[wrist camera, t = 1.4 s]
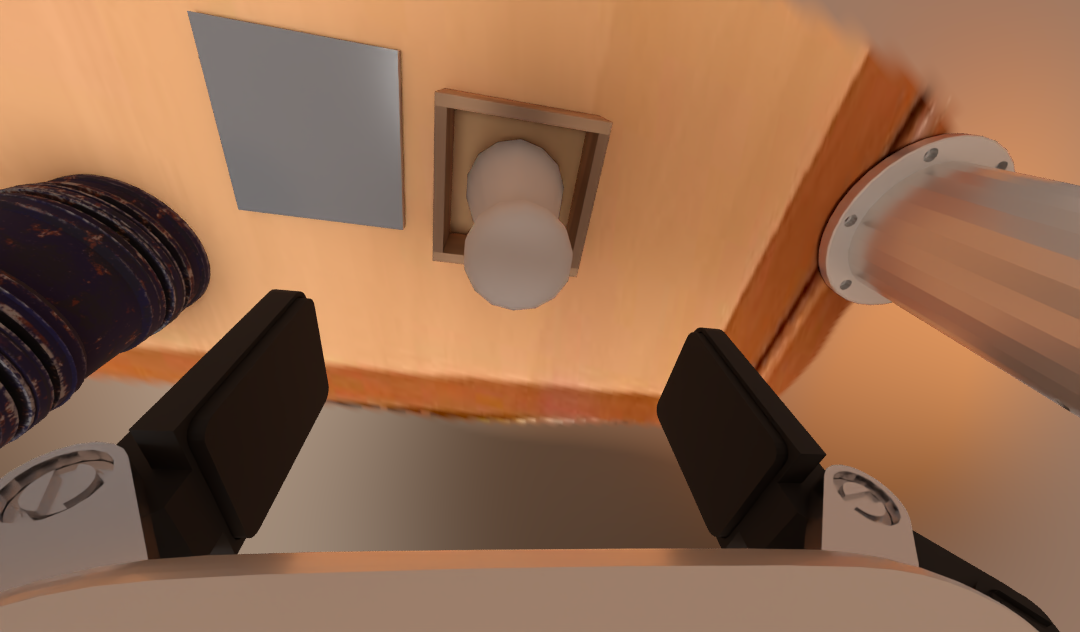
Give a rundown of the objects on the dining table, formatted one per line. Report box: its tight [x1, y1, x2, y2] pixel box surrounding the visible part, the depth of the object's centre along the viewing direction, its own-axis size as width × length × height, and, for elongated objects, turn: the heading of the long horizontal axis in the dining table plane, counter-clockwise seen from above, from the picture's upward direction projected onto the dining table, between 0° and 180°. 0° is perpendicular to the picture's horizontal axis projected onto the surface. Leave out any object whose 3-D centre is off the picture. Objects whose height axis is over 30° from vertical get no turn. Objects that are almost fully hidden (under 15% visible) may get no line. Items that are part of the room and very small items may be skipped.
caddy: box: [433, 88, 613, 277], centre depth 24 cm, size 9×9×4 cm
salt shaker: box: [464, 139, 573, 310], centre depth 20 cm, size 6×6×13 cm
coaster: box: [187, 11, 405, 230], centre depth 23 cm, size 10×10×1 cm
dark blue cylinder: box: [0, 174, 210, 448], centre depth 20 cm, size 10×10×15 cm
